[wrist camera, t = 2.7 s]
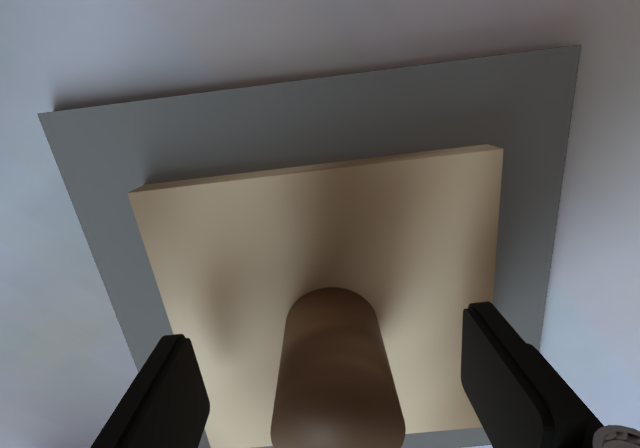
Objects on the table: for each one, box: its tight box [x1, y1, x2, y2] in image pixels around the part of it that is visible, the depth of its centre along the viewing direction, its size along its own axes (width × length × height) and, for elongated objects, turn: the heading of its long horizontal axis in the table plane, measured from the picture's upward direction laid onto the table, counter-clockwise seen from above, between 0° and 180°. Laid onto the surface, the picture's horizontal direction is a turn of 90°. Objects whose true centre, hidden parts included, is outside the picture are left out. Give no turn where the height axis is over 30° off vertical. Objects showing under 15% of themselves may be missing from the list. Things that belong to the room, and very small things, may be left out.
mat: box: [38, 45, 581, 448], centre depth 13 cm, size 16×16×1 cm
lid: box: [127, 144, 504, 448], centre depth 10 cm, size 11×11×5 cm
